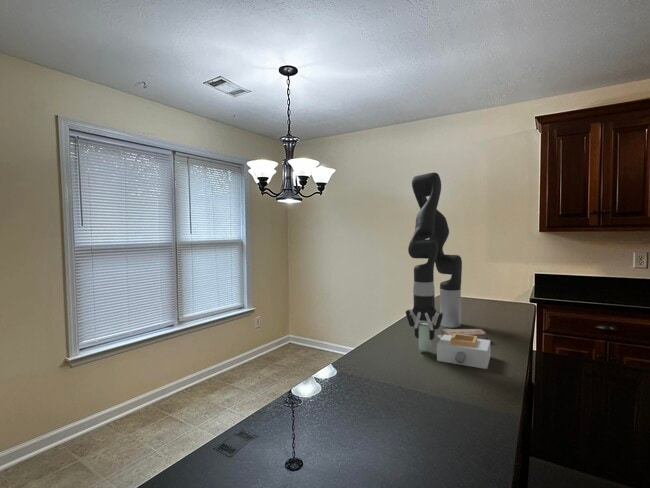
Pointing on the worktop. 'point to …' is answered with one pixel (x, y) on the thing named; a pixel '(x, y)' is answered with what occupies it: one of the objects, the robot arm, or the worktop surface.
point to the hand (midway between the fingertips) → (424, 338)
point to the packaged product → (465, 333)
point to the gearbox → (464, 350)
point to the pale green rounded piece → (424, 337)
